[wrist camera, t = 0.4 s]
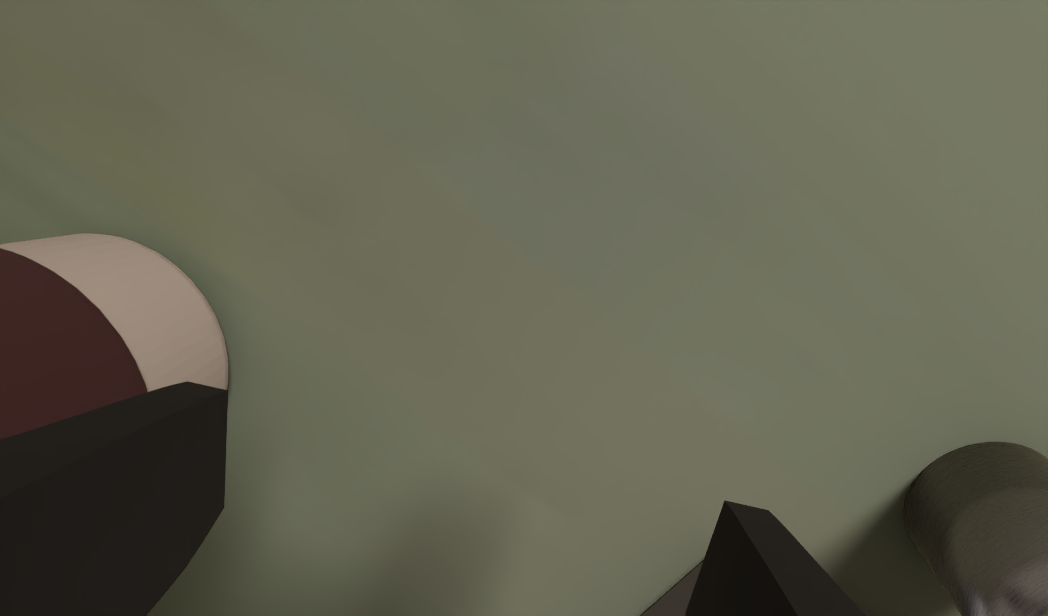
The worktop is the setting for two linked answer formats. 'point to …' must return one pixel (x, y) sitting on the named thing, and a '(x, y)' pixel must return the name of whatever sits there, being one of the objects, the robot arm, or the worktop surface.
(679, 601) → the camera body
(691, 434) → the worktop surface
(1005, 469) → the lens
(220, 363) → the coffee cup
